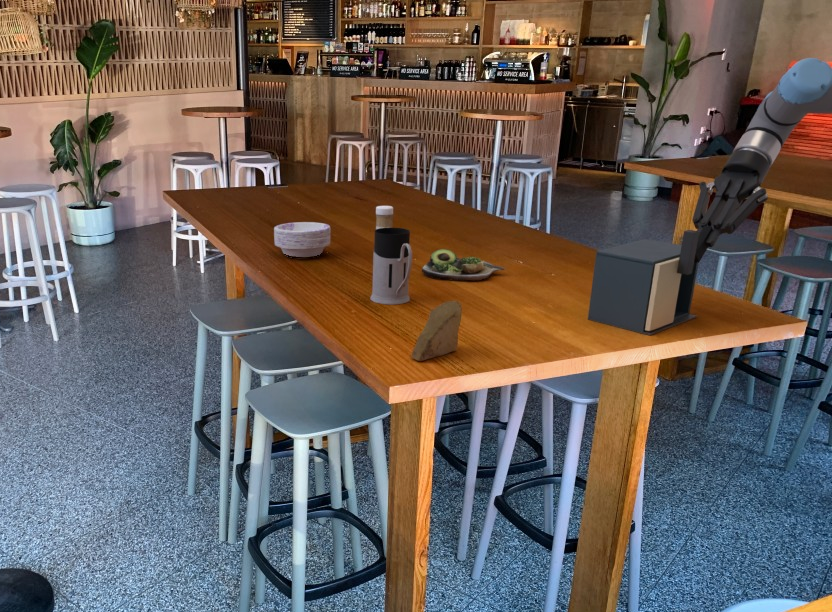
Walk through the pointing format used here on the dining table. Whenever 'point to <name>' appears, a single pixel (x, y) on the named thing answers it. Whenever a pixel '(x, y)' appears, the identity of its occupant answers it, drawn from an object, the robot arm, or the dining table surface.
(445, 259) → the salad plate
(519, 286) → the dining table surface
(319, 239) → the paper bowls
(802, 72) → the robot arm
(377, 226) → the sprinkles bottle
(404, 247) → the glass holder
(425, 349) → the rock
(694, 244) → the sliding door
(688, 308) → the cabinet
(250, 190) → the dining table surface
